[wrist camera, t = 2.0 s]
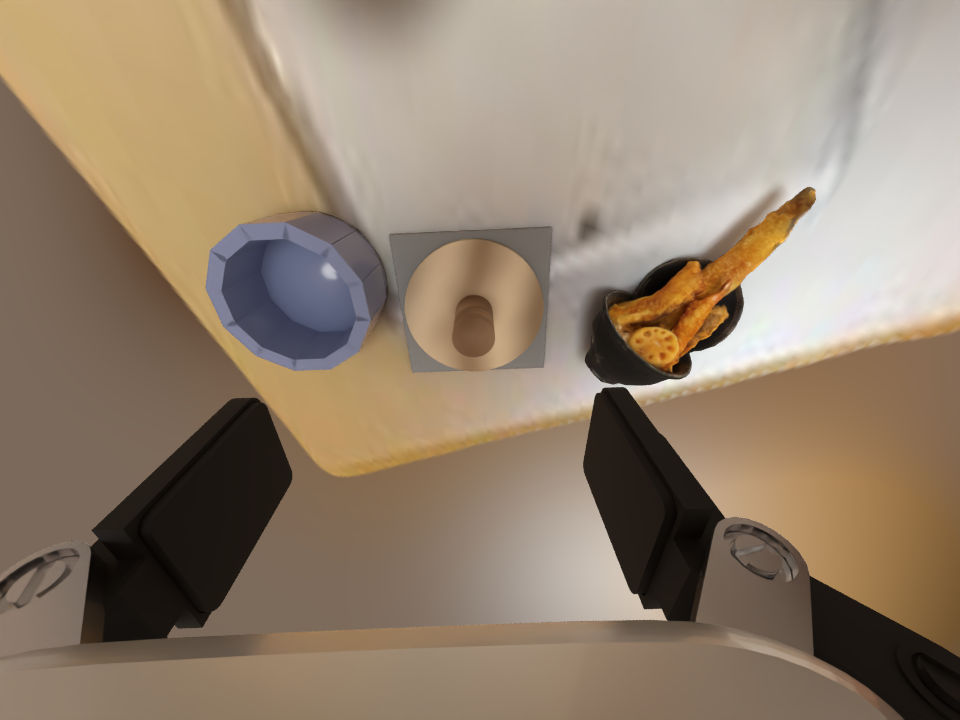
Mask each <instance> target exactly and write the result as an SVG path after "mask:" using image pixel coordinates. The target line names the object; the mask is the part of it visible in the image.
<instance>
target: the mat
mask: <svg viewBox="0 0 960 720" xmlns="http://www.w3.org/2000/svg"><path fill="white" fill-rule="evenodd" d="M469 238H479V239H486V240H491V241H495V242H498V243H501V244H503V245H505V246H507V247H509V248H510V249H512V250H514V251H515V252H516V253H518V254H519V255H520V256H521V257H522V258H523V259H524V260H525V261H526V262H527V263H528V264H529V266H530V267H531V269H532V270H533V272H534V274H535V276H536V278H537V280H538V282H539V284H540V287H541V291H542V295H543V302H544V311H543V318H542V322H541V326H540V328H539V331H538V333H537V335H536V337H535V339H534V340H533V342H532V343H531V344H530V346H529V347H528V348H527V349H526V350H525V351H524V352H523V353H522V354H521V355H520V356H518V357H517V358H516V359H514V360H512V361H511V362H509V363H507V364H505V365H503V366H500V367H497V368H494V369H519V368H544V353H545V337H546V321H547V304H548V288H549V272H550V256H551V239H552V227H534V228H512V229H490V230H468V231H446V232H424V233H403V234H390V235H389V239H390V245H391V251H392V257H393V262H394V268H395V274H396V280H397V286H398V292H399V298H400V303H401V309H402V315H403V321H404V327H405V333H406V339H407V345H408V350H409V356H410V362H411V368H412V373H415V372H441V371H465V370H459V369H455V368H452V367H449V366H446V365H444V364H442V363H440V362H438V361H437V360H435V359H434V358H432V357H431V356H429V355H428V354H427V353H426V352H425V351H424V350H423V349H422V348H421V347H420V346H419V345H418V343H417V342H416V340H415V339H414V337H413V335H412V334H411V332H410V329H409V327H408V324H407V320H406V316H405V296H406V290H407V287H408V284H409V281H410V279H411V277H412V276H413V274H414V272H415V270H416V269H417V267H418V266H419V264H420V263H421V262H422V261H423V260H424V259H425V258H426V257H427V256H428V255H429V254H430V253H432V252H433V251H434V250H436V249H437V248H439V247H441V246H443V245H445V244H447V243H450V242H453V241H457V240H461V239H469ZM490 370H493V369H490Z"/></svg>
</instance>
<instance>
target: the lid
mask: <svg viewBox="0 0 960 720" xmlns="http://www.w3.org/2000/svg"><path fill="white" fill-rule="evenodd" d="M543 311H544V302H543V295H542V291H541V287H540V284H539V282H538V280H537V278H536V276H535V274H534V272H533V270H532V269H531V267H530V266H529V264H528V263H527V262H526V261H525V260H524V259H523V258H522V257H521V256H520V255H519V254H518V253H516V252H515V251H514V250H512V249H510V248H509V247H507V246H505V245H503V244H501V243H498V242H495V241H491V240H486V239H479V238H469V239H461V240H457V241H453V242H450V243H447V244H445V245H443V246H441V247H439V248H437V249H436V250H434V251H433V252H432V253H430V254H429V255H428V256H427V257H426V258H425V259H424V260H423V261H422V262H421V263H420V264H419V266H418V267H417V269H416V270H415V272H414V274H413V276H412V277H411V279H410V281H409V284H408V287H407V290H406V296H405V316H406V320H407V324H408V327H409V329H410V332H411V334H412V335H413V337H414V339H415V340H416V342H417V343H418V345H419V346H420V347H421V348H422V349H423V350H424V351H425V352H426V353H427V354H428V355H429V356H431V357H432V358H434V359H435V360H437V361H438V362H440V363H442V364H444V365H446V366H449V367H452V368H455V369H459V370H465V371H484V370H490V369H494V368H497V367H500V366H503V365H505V364H507V363H509V362H511V361H512V360H514V359H516V358H517V357H518V356H520V355H521V354H522V353H523V352H524V351H525V350H526V349H527V348H528V347H529V346H530V344H531V343H532V342H533V340H534V339H535V337H536V335H537V333H538V331H539V328H540V326H541V322H542V318H543Z"/></svg>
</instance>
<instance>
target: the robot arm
mask: <svg viewBox="0 0 960 720" xmlns="http://www.w3.org/2000/svg"><path fill="white" fill-rule="evenodd" d="M583 468H584V473H585V476H586V479H587V481H588V484H589V486H590V489H591V491H592V494H593V497H594V499H595V502H596V505H597V507H598V510H599V512H600V515H601V517H602V520H603V522H604V525H605V528H606V530H607V533H608V535H609V538H610V541H611V543H612V546H613V548H614V551H615V553H616V556H617V559H618V561H619V563H620V566H621V569H622V571H623V574H624V576H625V579H626V581H627V584H628V587H629V589H630V590H631V592H632V593H633V594H638V595H639V598H640V600H641V603H642V605H643V608H644V609H662V610H663V612H664V615H665V617H666V619H667V620H668V621H660V620H659V621H658V620H632V621H631V620H628V621H627V620H626V621H570V622H541V623H514V624H487V625H458V626H433V627H408V628H385V629H360V630H337V631H314V632H290V633H270V634H248V635H228V636H206V637H185V638H168V637H167V635H168V634H169V632H170V631H171V629H172V627H173V626H174V625H175V626H176V627H177V628H201V627H203V626H204V624H205V622H206V621H207V619H208V617H209V615H210V614H211V612H212V611H214V610H215V609H217V608H218V607H219V606H220V605H221V603H222V602H223V600H224V599H225V597H226V595H227V593H228V591H229V590H230V588H231V586H232V585H233V583H234V581H235V579H236V578H237V576H238V574H239V573H240V571H241V569H242V567H243V566H244V564H245V562H246V560H247V559H248V557H249V555H250V553H251V552H252V550H253V548H254V546H255V545H256V543H257V541H258V540H259V538H260V536H261V534H262V532H263V531H264V529H265V527H266V526H267V524H268V522H269V520H270V519H271V517H272V515H273V513H274V512H275V510H276V508H277V507H278V505H279V503H280V501H281V500H282V498H283V496H284V494H285V493H286V491H287V489H288V488H289V486H290V484H291V481H292V470H291V468H290V465H289V463H288V460H287V458H286V455H285V452H284V450H283V447H282V445H281V442H280V440H279V437H278V434H277V432H276V429H275V426H274V424H273V421H272V419H271V416H270V414H269V411H268V408H267V406H266V405H265V404H264V403H261V402H260V400H258V399H257V398H235V399H231V400H230V401H228V402H227V403H226V404H225V405H224V406H223V407H222V408H221V409H220V410H219V411H218V412H217V413H216V414H215V415H213V416H212V417H211V418H210V419H209V420H208V421H207V422H206V423H205V424H204V425H203V426H202V427H201V428H200V429H199V430H198V431H196V432H195V433H194V434H193V435H192V436H191V437H190V438H189V439H188V440H187V441H186V442H185V443H184V444H183V445H182V446H181V447H180V448H178V449H177V450H176V451H175V452H174V453H173V454H172V455H171V456H170V457H169V458H168V459H167V460H166V461H165V462H164V463H163V464H162V465H160V466H159V467H158V468H157V469H156V470H155V471H154V472H153V473H152V474H151V475H150V476H149V477H148V478H147V479H146V480H144V481H143V482H142V483H141V484H140V485H139V486H138V487H137V488H136V489H135V490H134V491H133V492H132V493H131V494H130V495H129V496H127V497H126V498H125V499H124V500H123V501H122V502H121V503H120V504H119V505H118V506H117V507H116V508H115V509H114V510H113V511H112V512H111V513H110V514H108V515H107V516H106V517H105V518H104V519H103V520H102V521H101V522H100V523H99V524H98V525H97V526H96V527H95V528H94V529H92V532H94V534H95V535H96V536H97V537H98V538H99V539H98V541H96V542H95V543H94V544H93V545H92V546H91V547H90V546H89V545H88V544H86V543H85V542H80V541H71V542H66V543H61V544H57V545H55V546H52V547H49V548H46V549H44V550H41V551H39V552H37V553H35V554H33V555H31V556H29V557H27V558H25V559H24V560H22V561H20V562H19V563H17V564H16V565H14V566H13V567H11V568H10V569H8V570H6V571H5V572H4V573H3V574H1V575H0V720H960V658H959V657H958V656H956V655H954V654H953V653H951V652H949V651H948V650H946V649H945V648H943V647H941V646H940V645H938V644H936V643H934V642H932V641H930V640H929V639H927V638H924V637H923V636H921V635H919V634H917V633H915V632H914V631H912V630H910V629H908V628H906V627H904V626H902V625H900V624H899V623H897V622H895V621H893V620H891V619H889V618H887V617H885V616H884V615H882V614H880V613H878V612H876V611H874V610H872V609H871V608H869V607H867V606H865V605H863V604H861V603H859V602H857V601H856V600H853V599H852V598H850V597H848V596H846V595H844V594H843V593H841V592H839V591H837V590H835V589H833V588H831V587H829V586H828V585H826V584H824V583H822V582H820V581H818V580H816V579H814V578H813V577H811V576H810V575H809V571H808V567H807V564H806V562H805V561H804V559H803V558H802V556H801V554H800V553H799V552H798V551H797V549H796V548H795V547H794V546H793V545H792V544H791V543H790V542H789V541H788V540H786V539H785V538H784V537H782V536H781V535H780V534H778V533H777V532H775V531H774V530H772V529H770V528H768V527H767V526H765V525H763V524H761V523H758V522H755V521H752V520H750V519H746V518H739V517H732V518H725V517H724V516H723V514H722V513H721V512H720V511H719V509H718V508H717V506H716V505H715V504H714V502H713V501H712V500H711V499H710V497H709V496H708V494H707V493H706V492H705V490H704V489H703V488H702V487H701V485H700V484H699V482H698V481H697V480H696V478H695V477H694V476H693V474H692V473H691V472H690V470H689V469H688V468H687V467H686V465H685V464H684V463H683V461H682V460H681V458H680V457H679V456H678V454H677V453H676V452H675V450H674V449H673V448H672V446H671V445H670V444H669V443H668V441H667V440H666V438H665V437H664V436H663V435H662V434H660V433H659V432H658V431H657V429H656V428H655V427H654V425H653V424H652V423H651V421H650V420H649V419H648V417H647V416H646V415H645V413H644V412H643V411H642V409H641V408H640V406H639V405H638V404H637V402H636V401H635V400H634V398H633V397H632V396H631V394H630V393H629V392H628V390H627V389H626V388H624V387H613V388H603V389H602V391H601V393H597V394H596V395H595V399H594V405H593V411H592V416H591V422H590V428H589V433H588V439H587V444H586V450H585V456H584V462H583Z"/></svg>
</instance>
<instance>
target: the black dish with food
mask: <svg viewBox="0 0 960 720" xmlns="http://www.w3.org/2000/svg"><path fill="white" fill-rule="evenodd" d="M815 192H816V191H815V189H813V188H812V187H807V188H805V189H804V190H802V191H801V192H800V193H799V194H797V195H796V196H795V197H794V198H793V199H791V200H790V201H787V202H786V203H785V204H784V205H782V206H781V207H780V208H779V209H778V210H777V211H773V212H771V213H769V214H768V215H767V216H766V218H765V219H764V220H763V222H761V223H760V224H759V225H757V226H755V227H753V228H751V229H749V231H748V232H747V233H746V235H745V236H744V237H743V238H742V239H741V240H740V241H739V242H738V243H737V244H736V245H735V246H734V247H733V248H731V249H730V250H729V251H728V252H727V253H726V254H724V255H722V256H721V257H720V258H718V259H717V260H715V261H714V262H712V261H709V260H706V259H702V258H686V259H677V260H673V261H670V262H667V263H665V264H663V265H661V266H659V267H658V268H656V269H655V270H653V271H652V272H651V273H649V274H648V275H647V276H646V278H645V279H644V280H643V282H642V283H641V284H640V286H639V287H638V289H637V290H636V293H635V294H634V295H633V294H629V293H626V292H623V291H612V292H611V293H609V294H607V295H606V296H605V298H604V300H603V308H602V311H601V312H600V313H599V314H598V316H597V317H596V318H595V320H594V321H593V333H592V338H591V348H590V350H589V351H588V353H587V354H586V357H585V363H586V364H587V366H588V367H589V368H590V370H591V372H592V373H593V374H594V375H595V376H596V377H597V378H598V379H599V380H600V381H601V382H604V383H609V384H617V383H620V384H623V385H652V384H656V383H658V382H661V381H664V380H667V379H682V378H684V377H686V376H687V375H688V374H689V373H690V371H691V366H692V361H691V358H690V353H691V352H693V351H701V350H704V349H707V348H710V347H713V346H716V345H717V344H718V343H720V342H721V341H723V340H724V339H725V338H726V337H727V336H728V335H729V334H730V333H731V332H732V331H733V330H734V329H735V327H736V325H737V323H738V321H739V320H740V317H741V314H742V311H743V306H744V299H743V294H742V289H741V285H740V284H741V282H742V281H743V280H744V279H745V277H746V276H747V275H748V274H749V273H750V272H752V271H754V270H755V268H757V267H758V266H759V265H760V264H761V263H762V262H763V261H764V260H765V259H766V258H767V257H768V256H769V255H770V254H771V253H772V252H773V251H774V250H775V249H776V248H777V247H778V246H779V245H780V244H782V243H783V242H784V241H785V240H786V239H787V238H788V236H789V234H790V232H791V230H792V229H793V227H794V225H795V224H796V223H797V221H798V220H799V219H800V218H801V217H802V216H803V215H805V214H806V213H807V212H808V211H809V210H810V208H811V207H812V205H813V204H814V203H815V200H816V196H815Z"/></svg>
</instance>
